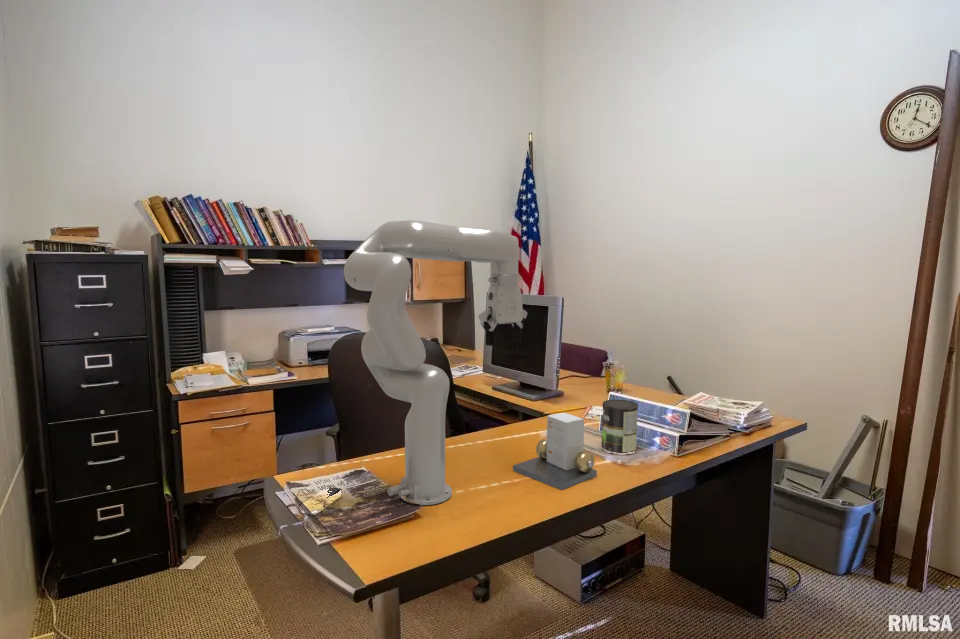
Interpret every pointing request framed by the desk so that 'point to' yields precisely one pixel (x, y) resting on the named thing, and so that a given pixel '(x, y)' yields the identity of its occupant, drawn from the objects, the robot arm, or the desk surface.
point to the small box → (564, 439)
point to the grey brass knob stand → (557, 469)
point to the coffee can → (619, 426)
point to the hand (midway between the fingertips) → (503, 343)
